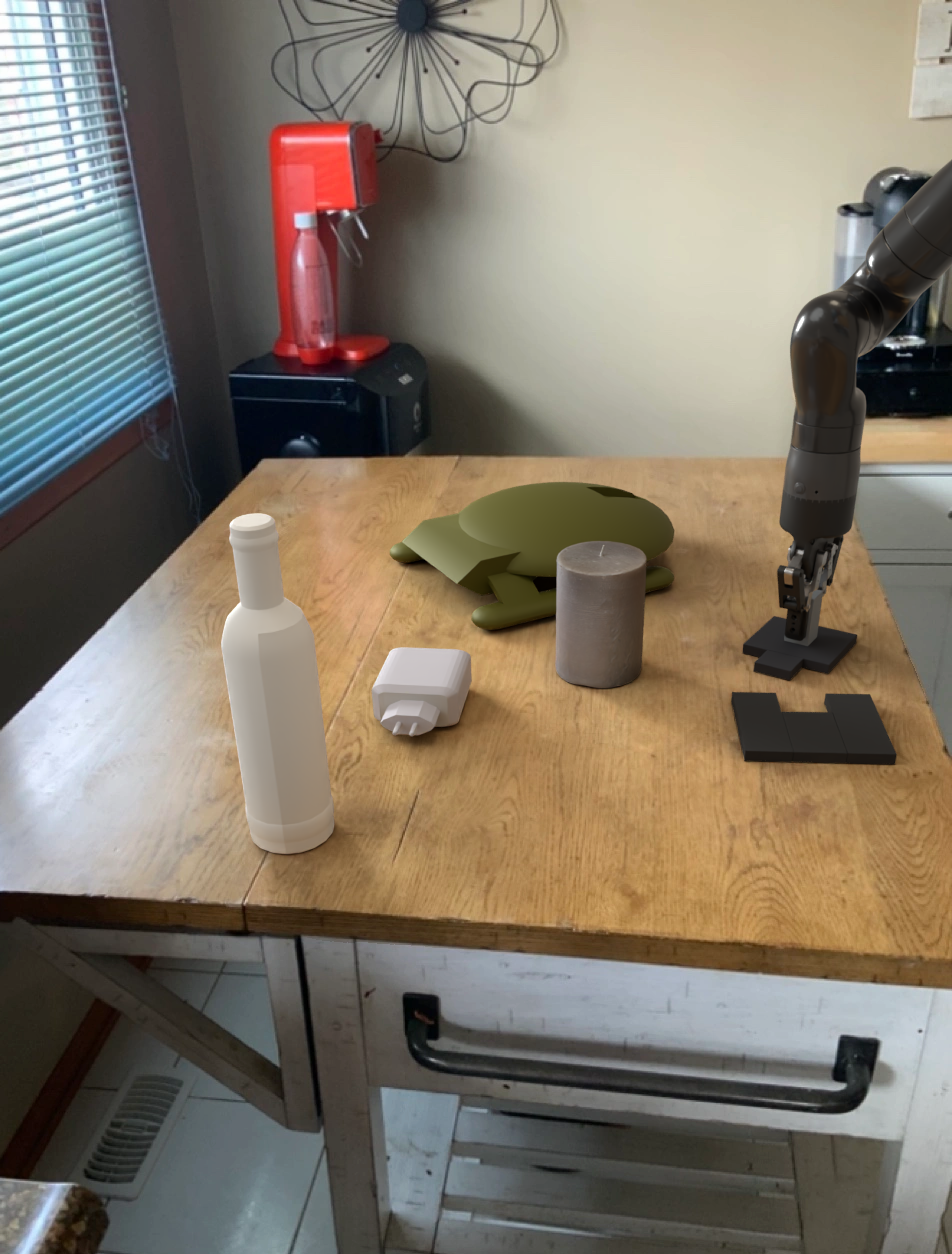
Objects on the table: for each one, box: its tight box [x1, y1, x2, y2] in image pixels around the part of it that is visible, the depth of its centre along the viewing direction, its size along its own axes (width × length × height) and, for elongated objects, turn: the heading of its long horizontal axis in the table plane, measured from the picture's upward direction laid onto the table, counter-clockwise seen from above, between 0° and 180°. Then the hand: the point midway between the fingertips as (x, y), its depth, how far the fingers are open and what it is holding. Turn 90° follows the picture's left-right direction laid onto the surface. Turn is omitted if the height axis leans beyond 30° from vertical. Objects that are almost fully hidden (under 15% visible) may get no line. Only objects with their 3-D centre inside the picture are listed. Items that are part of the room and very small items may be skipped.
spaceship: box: [389, 481, 675, 631], centre depth 152 cm, size 35×31×10 cm
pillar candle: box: [554, 541, 648, 689], centre depth 125 cm, size 10×10×15 cm
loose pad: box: [741, 590, 859, 681], centre depth 127 cm, size 10×13×7 cm
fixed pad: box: [730, 691, 898, 766], centre depth 114 cm, size 14×12×1 cm
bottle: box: [220, 512, 335, 855], centre depth 97 cm, size 8×8×30 cm
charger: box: [371, 646, 473, 737], centre depth 120 cm, size 5×9×15 cm
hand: (801, 631), depth 129 cm, fingers open, 3 cm apart
